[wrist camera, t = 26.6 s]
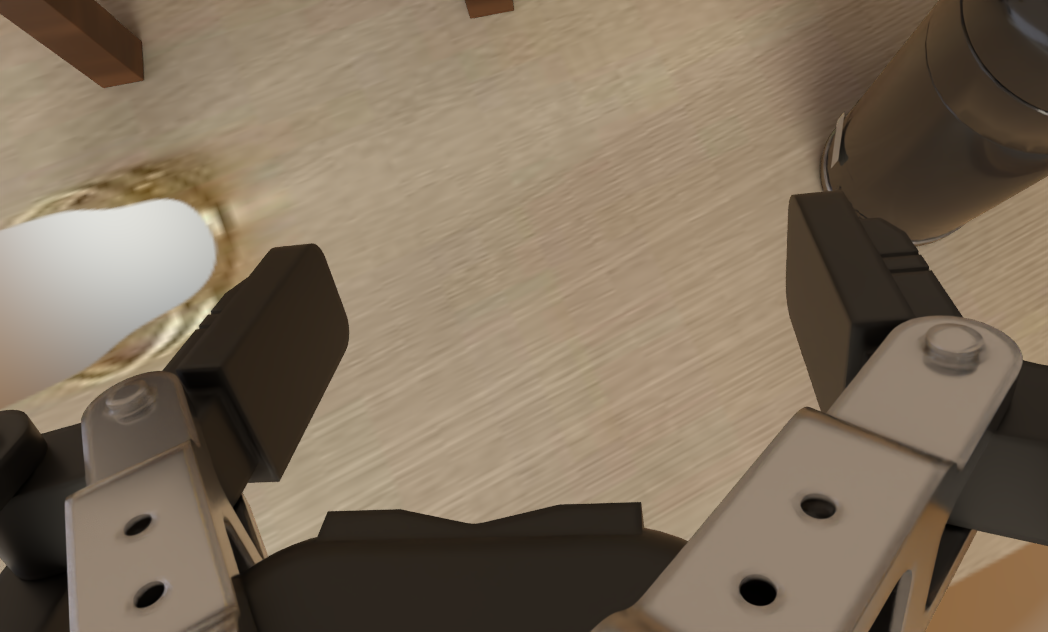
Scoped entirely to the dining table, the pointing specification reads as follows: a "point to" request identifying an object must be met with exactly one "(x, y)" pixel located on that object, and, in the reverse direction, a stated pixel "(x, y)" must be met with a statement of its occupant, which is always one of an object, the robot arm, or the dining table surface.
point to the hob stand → (114, 35)
